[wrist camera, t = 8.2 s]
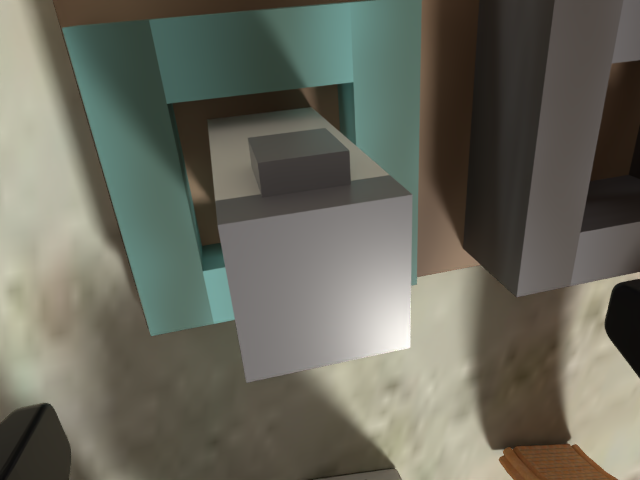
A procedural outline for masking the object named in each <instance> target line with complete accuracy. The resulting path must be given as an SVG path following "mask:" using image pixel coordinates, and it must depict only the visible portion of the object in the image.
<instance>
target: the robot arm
mask: <svg viewBox="0 0 640 480" xmlns="http://www.w3.org/2000/svg"><path fill="white" fill-rule="evenodd" d="M605 330H606V333H607V335H608V337H609V338H610V340H611V341H612V342H613V344H614V345H615V346H616V348H617V349H618V350H619V352H620V353H621V354H622V356H623V357H624V358H625V359H626V361H627V362H628V363H629V365H630V366H631V367H632V369H633V370H634V371H635V373H636V374H637V375H638V377H639V378H640V279H636V280H631V281H626V282H621V283H619V284H617V285H616V286H615V287H614V288H613V290H612V293H611V297H610V301H609V305H608V310H607V314H606V318H605ZM70 465H71V449H70V444H69V441H68V439H67V437H66V434H65V432H64V430H63V428H62V425H61V423H60V421H59V419H58V416H57V414H56V412H55V410H54V408H53V407H52V406H51V405H50V404H48V403H41V404H36V405H31V406H26V407H22V408H19V409H16V410H15V411H13V412H12V413H11V414H10V415H9V416H8V417H7V418H5V419H4V420H3V421H2V422H1V423H0V480H69V474H70Z"/></svg>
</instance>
